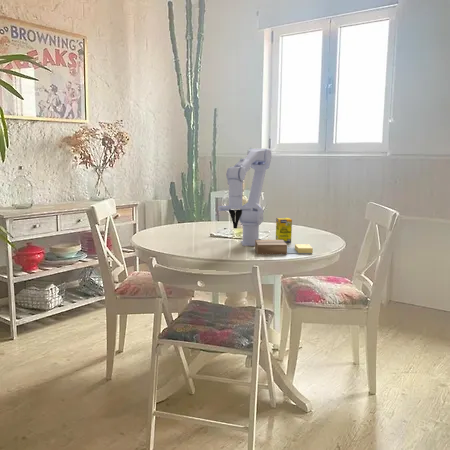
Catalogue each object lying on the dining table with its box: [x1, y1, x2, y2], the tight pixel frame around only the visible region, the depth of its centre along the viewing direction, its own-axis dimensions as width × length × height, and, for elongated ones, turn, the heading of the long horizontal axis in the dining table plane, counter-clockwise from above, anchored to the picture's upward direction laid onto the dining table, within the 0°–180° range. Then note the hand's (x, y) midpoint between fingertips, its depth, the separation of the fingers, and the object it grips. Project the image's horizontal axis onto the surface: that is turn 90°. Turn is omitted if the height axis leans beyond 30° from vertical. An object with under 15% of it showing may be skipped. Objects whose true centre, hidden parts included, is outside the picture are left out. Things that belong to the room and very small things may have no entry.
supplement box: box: [275, 217, 293, 244], centre depth 225 cm, size 6×6×11 cm
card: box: [294, 243, 314, 253], centre depth 205 cm, size 8×6×2 cm
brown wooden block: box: [254, 239, 288, 256], centre depth 204 cm, size 11×12×4 cm
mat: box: [286, 247, 312, 255], centre depth 206 cm, size 11×10×1 cm
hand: (235, 228), depth 203 cm, fingers closed
